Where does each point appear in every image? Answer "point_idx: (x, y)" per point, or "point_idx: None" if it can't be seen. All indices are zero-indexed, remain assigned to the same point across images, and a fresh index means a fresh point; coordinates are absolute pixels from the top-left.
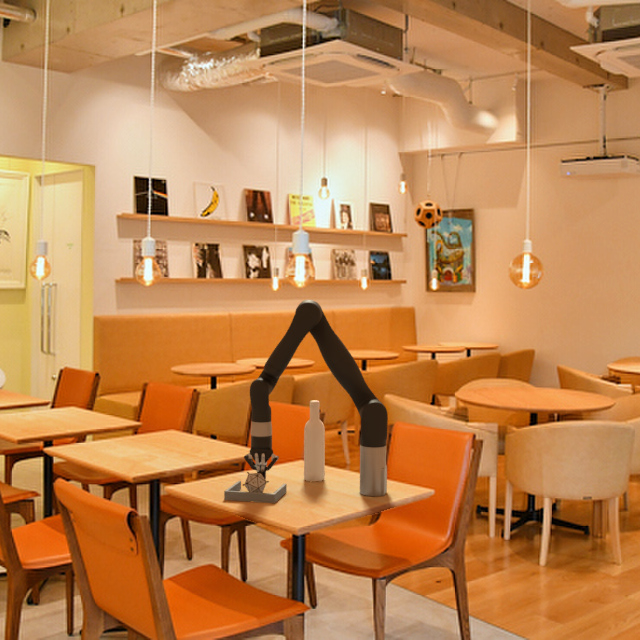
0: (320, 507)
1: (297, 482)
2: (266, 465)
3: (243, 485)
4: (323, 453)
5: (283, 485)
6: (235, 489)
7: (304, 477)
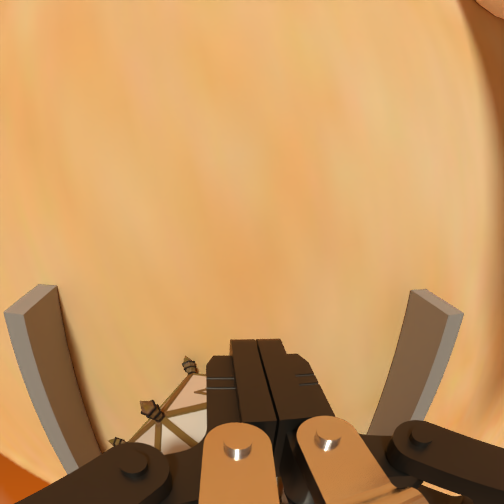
0: (492, 431)
1: (434, 4)
2: (386, 478)
3: (121, 442)
4: None
5: (441, 362)
6: (73, 416)
7: None
